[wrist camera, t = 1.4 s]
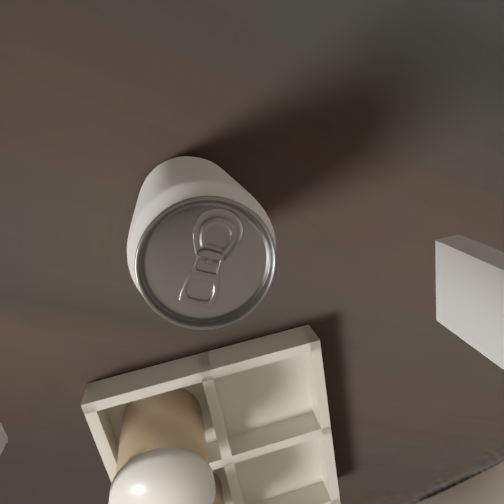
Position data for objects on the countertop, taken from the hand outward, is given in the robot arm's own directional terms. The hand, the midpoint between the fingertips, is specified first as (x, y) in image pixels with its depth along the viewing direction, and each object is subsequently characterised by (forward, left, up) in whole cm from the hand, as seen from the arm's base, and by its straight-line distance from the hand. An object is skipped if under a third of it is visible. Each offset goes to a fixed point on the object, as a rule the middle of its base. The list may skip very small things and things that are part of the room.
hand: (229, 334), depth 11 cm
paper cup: (+16, -6, -17) cm, 23 cm away
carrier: (+20, -2, -17) cm, 26 cm away
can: (0, 0, -17) cm, 17 cm away
